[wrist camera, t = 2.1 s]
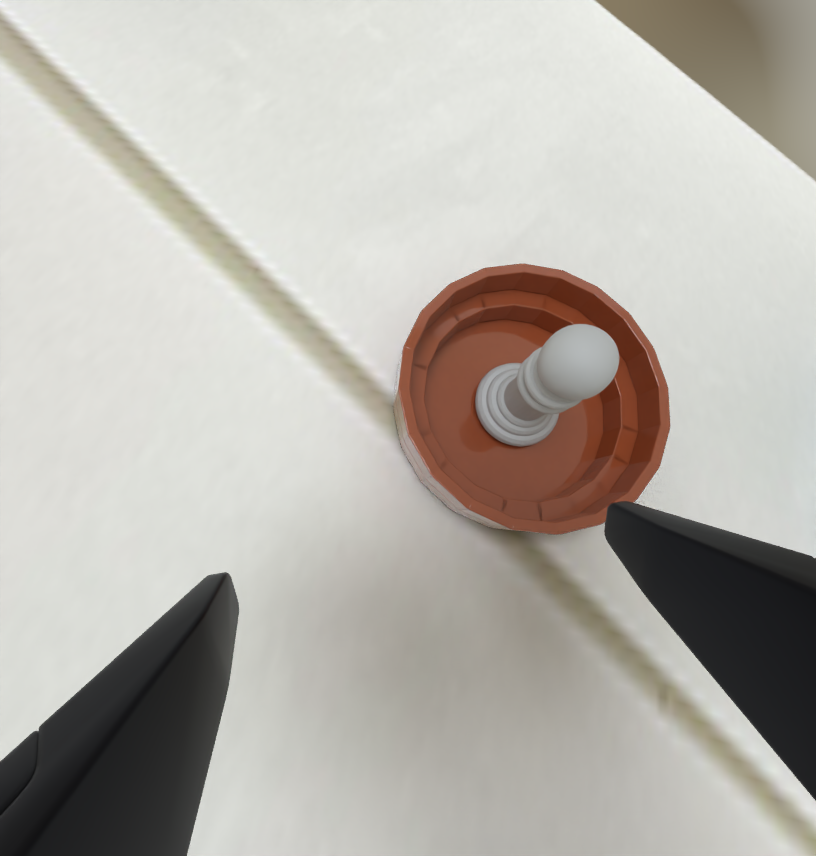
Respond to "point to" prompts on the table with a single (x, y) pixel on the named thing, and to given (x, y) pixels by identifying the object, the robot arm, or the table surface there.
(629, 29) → the table surface
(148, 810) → the robot arm
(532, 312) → the bowl
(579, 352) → the chess piece
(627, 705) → the table surface
